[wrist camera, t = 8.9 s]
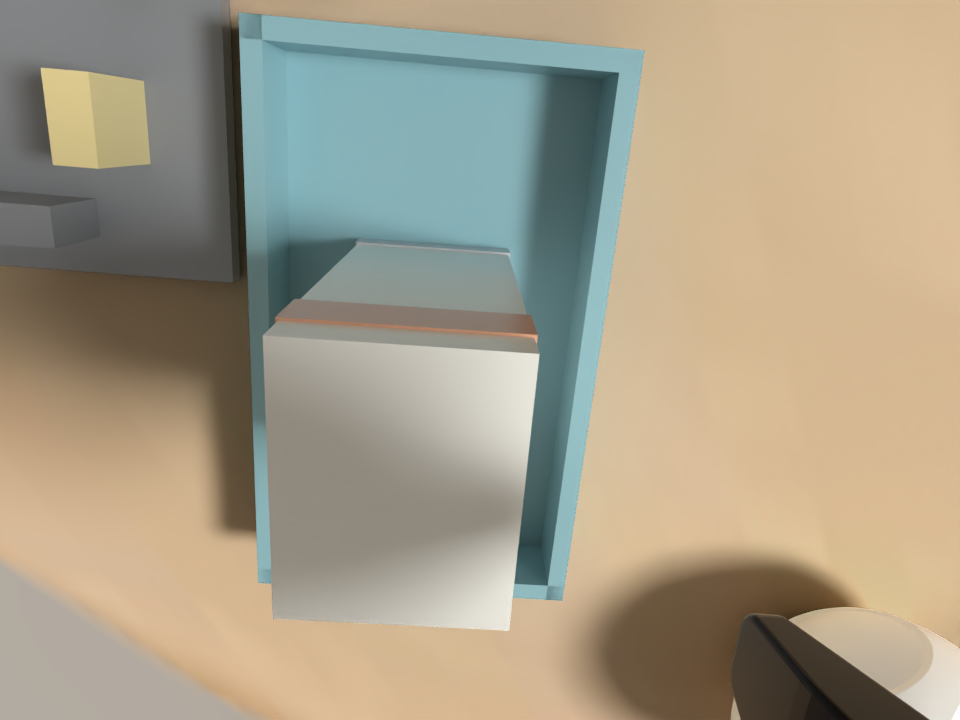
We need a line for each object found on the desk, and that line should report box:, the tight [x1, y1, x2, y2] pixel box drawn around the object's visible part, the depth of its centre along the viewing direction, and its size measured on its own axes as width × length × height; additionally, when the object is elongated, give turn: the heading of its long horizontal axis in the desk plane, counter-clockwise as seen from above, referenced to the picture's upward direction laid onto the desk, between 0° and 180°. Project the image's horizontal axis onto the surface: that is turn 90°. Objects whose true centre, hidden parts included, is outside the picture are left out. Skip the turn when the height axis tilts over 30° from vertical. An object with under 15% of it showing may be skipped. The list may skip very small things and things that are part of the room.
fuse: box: [263, 238, 539, 631], centre depth 14 cm, size 4×5×9 cm
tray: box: [238, 13, 645, 601], centre depth 18 cm, size 9×15×2 cm, turn 175°
